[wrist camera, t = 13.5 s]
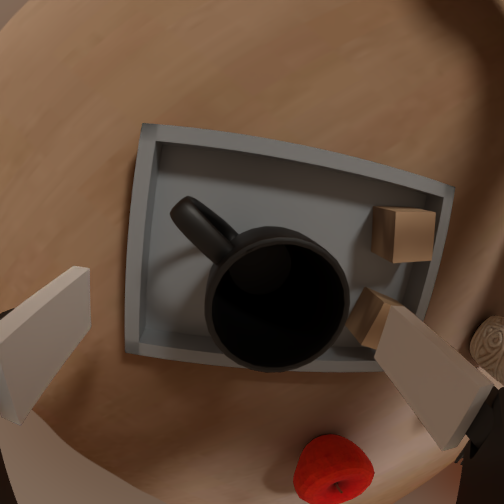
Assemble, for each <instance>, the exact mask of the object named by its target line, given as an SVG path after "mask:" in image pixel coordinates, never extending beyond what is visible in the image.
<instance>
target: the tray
mask: <svg viewBox="0 0 504 504" xmlns="http://www.w3.org/2000/svg"><path fill="white" fill-rule="evenodd" d="M454 192H455V187H453V186H450V185H447V184H444V183H442V182H439V181H436V180H432V179H429V178H426V177H423V176H420V175H417V174H414V173H410V172H407V171H404V170H400V169H397V168H393V167H390V166H386V165H383V164H379V163H375V162H372V161H368V160H364V159H360V158H356V157H352V156H348V155H344V154H340V153H336V152H331V151H327V150H322V149H318V148H313V147H309V146H304V145H299V144H294V143H289V142H284V141H278V140H273V139H267V138H261V137H255V136H249V135H243V134H236V133H230V132H222V131H215V130H207V129H199V128H190V127H181V126H171V125H160V124H148V123H142V128H141V134H140V140H139V146H138V153H137V159H136V166H135V174H134V182H133V190H132V199H131V208H130V219H129V231H128V244H127V260H126V282H125V352H126V353H131V354H137V355H143V356H149V357H155V358H161V359H168V360H175V361H183V362H190V363H198V364H207V365H216V366H226V367H237V368H246V367H243V366H241V365H238V364H237V363H235V362H234V361H232V360H231V359H229V358H228V357H227V356H225V355H224V353H223V352H222V351H221V350H220V349H219V348H218V347H217V346H216V345H215V343H214V341H213V339H212V337H211V335H210V334H209V332H208V329H207V325H206V321H205V317H204V302H205V292H206V285H207V280H208V276H209V273H210V269H211V267H212V265H213V262H212V261H211V260H210V259H208V258H207V257H206V256H205V255H204V254H203V253H202V252H201V251H200V250H199V249H198V248H197V247H196V246H194V245H193V244H192V243H191V242H190V241H189V240H188V239H187V238H186V236H185V235H184V234H183V233H182V232H181V231H180V230H179V229H178V228H177V226H176V225H175V224H174V222H173V221H172V219H171V216H170V211H171V209H172V208H173V207H174V206H175V205H176V204H177V203H178V202H179V201H180V200H181V199H182V198H184V197H186V196H191V197H193V198H195V199H197V200H198V201H200V202H201V203H203V204H204V205H205V206H207V207H208V208H209V209H211V210H212V211H213V212H215V213H216V214H217V215H218V216H220V217H221V218H222V219H223V220H225V221H226V222H227V223H228V224H229V225H230V226H231V227H232V228H233V229H234V230H235V231H236V232H237V233H238V234H240V233H242V232H245V231H247V230H250V229H252V228H258V227H263V226H277V227H284V228H287V229H291V230H294V231H298V232H300V233H301V234H303V235H305V236H307V237H309V238H310V239H312V240H313V241H315V242H316V243H318V244H319V245H321V246H322V247H323V248H325V249H326V250H327V251H328V252H329V253H330V254H331V255H332V256H333V257H334V258H335V259H336V260H337V261H338V263H339V264H340V266H341V268H342V269H343V271H344V272H345V275H346V278H347V282H348V285H349V290H350V308H349V314H348V317H349V315H350V313H351V312H352V310H353V308H354V306H355V304H356V302H357V300H358V298H359V296H360V294H361V293H362V291H363V289H364V287H367V288H370V289H372V290H374V291H377V292H379V293H381V294H384V295H386V296H388V297H390V298H393V299H395V300H397V301H398V302H399V303H401V304H402V305H403V306H405V307H406V308H407V309H408V310H410V311H411V312H412V313H414V314H415V315H416V316H417V317H418V318H419V319H420V320H421V321H422V322H423V321H424V318H425V315H426V311H427V308H428V305H429V302H430V298H431V295H432V292H433V288H434V284H435V281H436V277H437V273H438V270H439V266H440V262H441V258H442V253H443V249H444V245H445V240H446V236H447V231H448V226H449V221H450V215H451V210H452V204H453V198H454ZM373 206H397V207H414V208H418V209H423V210H428V211H432V212H436V216H435V231H434V243H433V253H432V261H418V262H404V263H391V262H389V261H388V260H386V259H384V258H382V257H380V256H378V255H377V254H375V253H373V252H371V241H372V220H373ZM347 319H348V318H347ZM375 353H376V349H373V348H369V347H366V346H363V345H361V344H360V343H359V342H358V341H357V339H356V338H355V337H354V336H353V334H352V333H351V332H350V331H349V329H348V328H347V327H346V326H344V328H343V331H342V332H341V334H340V335H339V337H338V338H337V340H336V341H335V343H334V344H333V345H332V346H331V347H330V348H329V349H328V350H327V351H326V352H325V353H324V354H323V355H321V356H320V357H318V358H317V359H315V360H314V361H312V362H311V363H309V364H307V365H304V366H302V367H300V368H297V369H293V370H289V371H303V372H383V371H384V370H383V369H382V368H381V366H380V365H379V364H378V362H377V361H376V360H375V358H374V356H375Z"/></svg>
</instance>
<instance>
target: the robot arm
mask: <svg viewBox="0 0 504 504" xmlns="http://www.w3.org/2000/svg"><path fill="white" fill-rule="evenodd" d="M90 328H91V314H90V268H84V267H78V266H73V267H71V268H70V269H69V270H67V271H66V272H64V273H63V274H61V275H60V276H59V277H57V278H56V279H54V280H53V281H52V282H50V283H49V284H47V285H46V286H45V287H43V288H42V289H40V290H39V291H38V292H36V293H35V294H34V295H32V296H31V297H30V298H28V299H27V300H26V301H24V302H23V303H22V304H20V305H19V306H18V307H16V308H13V309H10V310H8V311H5V312H2V313H1V314H0V414H1V417H2V418H4V419H7V420H9V421H11V422H14V423H16V424H18V425H22V423H23V422H24V420H25V419H26V417H27V416H28V414H29V413H30V411H31V410H32V408H33V407H34V405H35V404H36V402H37V401H38V399H39V398H40V396H41V395H42V393H43V392H44V391H45V389H46V388H47V386H48V385H49V384H50V382H51V381H52V379H53V378H54V377H55V375H56V374H57V372H58V371H59V370H60V368H61V367H62V365H63V364H64V363H65V361H66V360H67V359H68V357H69V356H70V355H71V353H72V352H73V351H74V349H75V348H76V347H77V345H78V344H79V343H80V341H81V340H82V339H83V337H84V336H85V335H86V334H87V332H88V331H89V330H90ZM374 358H375V360H376V361H377V362H378V364H379V365H380V366H381V368H382V369H383V370H384V372H385V373H386V374H387V376H388V377H389V378H390V380H391V381H392V383H393V384H394V385H395V387H396V388H397V389H398V391H399V392H400V393H401V395H402V396H403V397H404V399H405V400H406V402H407V403H408V404H409V406H410V407H411V408H412V410H413V411H414V413H415V414H416V415H417V417H418V418H419V420H420V421H421V422H422V424H423V425H424V427H425V428H426V429H427V431H428V432H429V434H430V435H431V436H432V438H433V439H434V441H435V442H436V443H437V445H438V446H439V448H440V449H441V451H445V450H448V449H452V448H455V447H457V446H458V445H459V443H460V442H461V440H462V439H463V437H464V436H465V434H466V435H467V436H468V438H469V439H470V440H469V441H468V443H467V444H466V446H465V447H464V448H463V450H462V451H461V453H460V454H459V456H458V457H457V458H456V460H455V463H457V462H458V461H459V460H460V459H461V458H463V461H462V462H461V465H463V467H462V473H461V479H460V486H459V491H458V496H457V502H456V504H504V387H502V388H500V389H499V390H498V389H497V388H496V387H495V386H494V384H493V383H492V382H491V381H490V380H489V379H488V378H487V377H486V376H484V375H483V374H482V373H481V372H480V371H479V370H478V369H477V368H476V367H474V366H473V365H472V364H471V363H470V362H469V361H468V360H467V359H465V358H464V357H463V356H462V355H461V354H460V353H459V352H457V351H456V350H455V349H454V348H453V347H452V346H451V345H449V344H448V343H447V342H446V341H445V340H444V339H442V338H441V337H440V336H439V335H438V334H437V333H435V332H434V331H433V330H432V329H431V328H429V327H428V326H427V325H426V324H425V323H424V322H422V321H421V320H420V319H419V318H418V317H416V316H415V315H414V314H413V313H412V312H410V311H409V310H408V309H407V308H405V307H404V306H391V307H390V310H389V314H388V317H387V320H386V323H385V326H384V329H383V332H382V335H381V338H380V341H379V344H378V347H377V350H376V353H375V356H374ZM0 504H18V503H17V501H16V498H15V496H14V492H13V490H12V487H11V484H10V481H9V478H8V475H7V471H6V468H5V464H4V461H3V457H2V453H1V449H0Z"/></svg>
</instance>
